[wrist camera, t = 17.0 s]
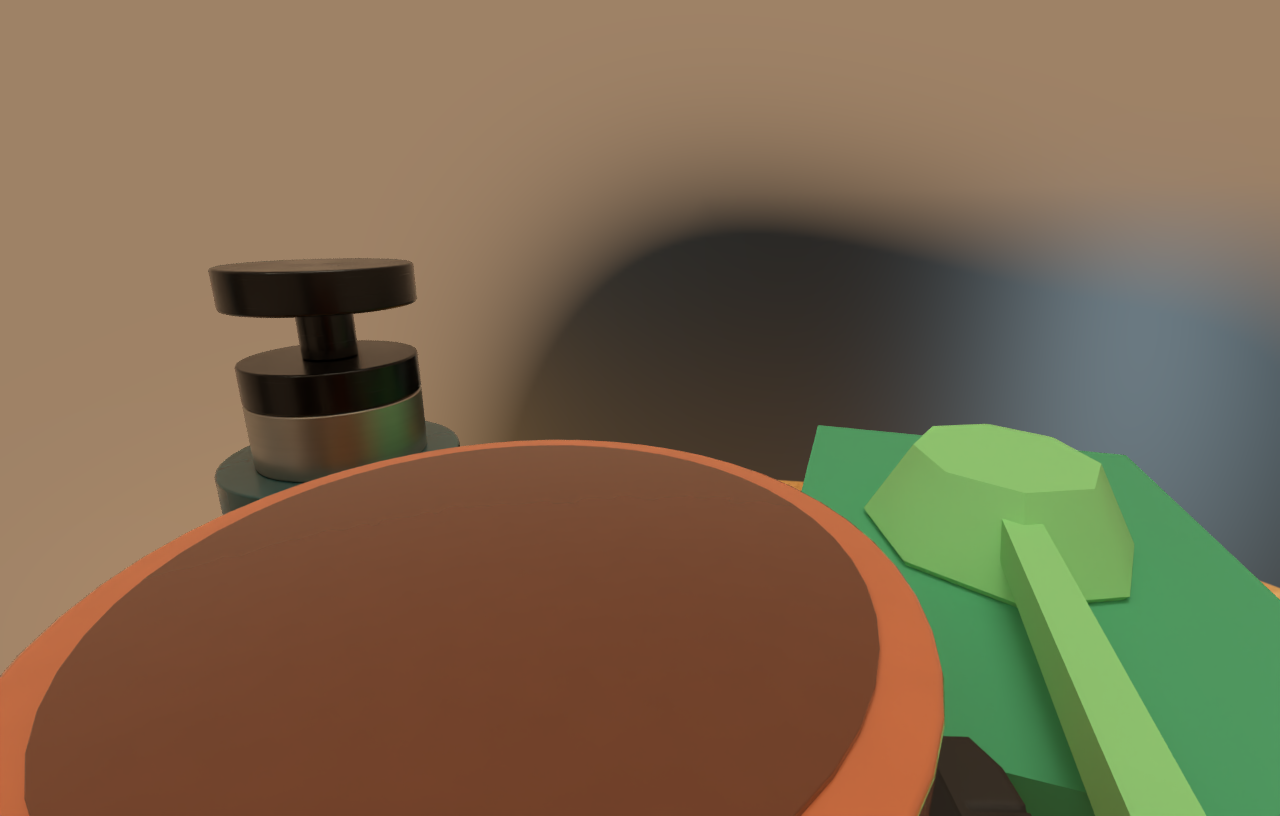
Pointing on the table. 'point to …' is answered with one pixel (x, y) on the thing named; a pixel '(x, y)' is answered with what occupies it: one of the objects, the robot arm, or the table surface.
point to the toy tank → (1073, 618)
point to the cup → (490, 653)
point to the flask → (321, 375)
